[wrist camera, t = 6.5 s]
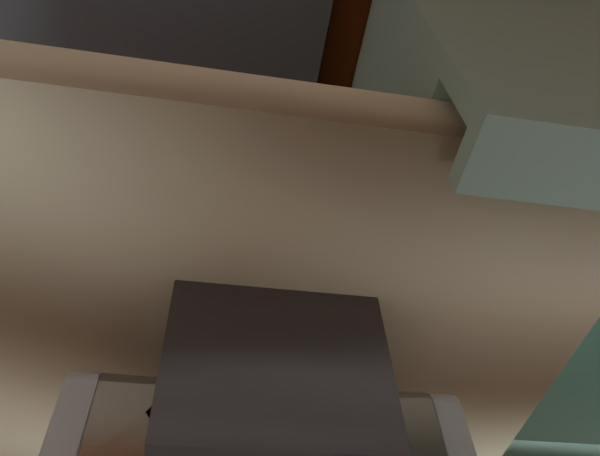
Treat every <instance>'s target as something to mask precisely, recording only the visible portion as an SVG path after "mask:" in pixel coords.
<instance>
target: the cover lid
mask: <svg viewBox="0 0 600 456" xmlns="http://www.w3.org/2000/svg"><path fill="white" fill-rule="evenodd" d="M466 129H467V126H466V124H465V123H464V121H463V119H462V117H461V115H460V114H459V112H458V110H457V108H456V107H455V105H454V103H453V102H450V101H443V100H436V99H428V98H421V97H414V96H407V95H399V94H392V93H385V92H378V91H371V90H363V89H356V88H349V87H342V86H335V85H327V84H320V83H313V82H306V81H299V80H291V79H284V78H277V77H270V76H263V75H255V74H248V73H241V72H234V71H226V70H219V69H212V68H205V67H198V66H190V65H183V64H176V63H169V62H162V61H154V60H147V59H140V58H133V57H126V56H118V55H111V54H104V53H97V52H90V51H82V50H75V49H68V48H61V47H53V46H46V45H39V44H32V43H25V42H17V41H10V40H3V39H0V456H38V455H39V452H40V449H41V447H42V444H43V441H44V438H45V435H46V432H47V429H48V426H49V423H50V420H51V417H52V414H53V411H54V408H55V405H56V402H57V399H58V396H59V393H60V390H61V387H62V384H63V381H64V379H65V377H66V376H67V374H68V373H69V371H70V370H72V371H88V372H102V373H112V374H125V375H137V376H149V377H157V380H156V385H155V391H154V396H153V402H152V407H151V413H150V418H149V424H148V429H147V435H146V440H145V456H412V455H411V450H410V445H409V441H408V436H407V431H406V427H405V422H404V417H403V413H402V408H401V403H400V399H399V394H398V391H407V392H425V393H426V394H451V395H455V396H456V397H457V398H458V399H459V401H460V403H461V406H462V409H463V412H464V415H465V419H466V422H467V425H468V428H469V431H470V434H471V437H472V441H473V444H474V447H475V450H476V453H477V456H502V455H503V454H504V452H505V451H506V450H507V448H508V447H509V445H510V444H511V442H512V441H513V440H514V438H515V437H516V435H517V434H518V432H519V431H520V430H521V428H522V427H523V425H524V424H525V422H526V421H527V420H528V418H529V417H530V415H531V414H532V412H533V411H534V410H535V408H536V407H537V405H538V404H539V402H540V401H541V400H542V398H543V397H544V395H545V394H546V392H547V391H548V390H549V388H550V387H551V385H552V384H553V382H554V381H555V380H556V378H557V377H558V375H559V374H560V372H561V371H562V370H563V368H564V367H565V365H566V364H567V362H568V361H569V360H570V358H571V357H572V355H573V354H574V352H575V351H576V350H577V348H578V347H579V345H580V344H581V342H582V341H583V340H584V338H585V337H586V335H587V334H588V332H589V331H590V330H591V328H592V327H593V325H594V324H595V323H596V321H597V320H598V318H599V317H600V211H597V210H589V209H580V208H572V207H563V206H555V205H547V204H538V203H530V202H521V201H513V200H504V199H496V198H488V197H479V196H471V195H462V194H455V193H454V190H453V188H452V186H451V184H450V182H449V179H448V175H449V172H450V170H451V167H452V165H453V162H454V160H455V157H456V154H457V152H458V149H459V147H460V144H461V142H462V139H463V137H464V134H465V131H466Z"/></svg>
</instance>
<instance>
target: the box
mask: <svg viewBox="0 0 600 456" xmlns="http://www.w3.org/2000/svg"><path fill="white" fill-rule="evenodd" d="M351 88H356V89H363V90H371V91H378V92H385V93H392V94H399V95H407V96H414V97H421V98H428V99H436V100H443V101H450V102H453V103H454V105H455V107H456V108H457V110H458V112H459V114H460V115H461V117H462V119H463V121H464V123H465V124H466V126H467V129H466V131H465V134H464V137H463V139H462V142H461V144H460V147H459V149H458V152H457V154H456V157H455V160H454V162H453V165H452V167H451V170H450V172H449V175H448V179H449V182H450V184H451V186H452V188H453V190H454V193H455V194H462V195H471V196H479V197H488V198H496V199H504V200H513V201H521V202H530V203H538V204H547V205H555V206H563V207H572V208H580V209H589V210H597V211H600V0H372V4H371V8H370V12H369V16H368V20H367V24H366V29H365V33H364V37H363V41H362V45H361V49H360V54H359V58H358V62H357V66H356V70H355V74H354V79H353V83H352V87H351ZM502 456H600V317H599V318H598V320H597V321H596V323H595V324H594V325H593V327H592V328H591V330H590V331H589V332H588V334H587V335H586V337H585V338H584V340H583V341H582V342H581V344H580V345H579V347H578V348H577V350H576V351H575V352H574V354H573V355H572V357H571V358H570V360H569V361H568V362H567V364H566V365H565V367H564V368H563V370H562V371H561V372H560V374H559V375H558V377H557V378H556V380H555V381H554V382H553V384H552V385H551V387H550V388H549V390H548V391H547V392H546V394H545V395H544V397H543V398H542V400H541V401H540V402H539V404H538V405H537V407H536V408H535V410H534V411H533V412H532V414H531V415H530V417H529V418H528V420H527V421H526V422H525V424H524V425H523V427H522V428H521V430H520V431H519V432H518V434H517V435H516V437H515V438H514V440H513V441H512V442H511V444H510V445H509V447H508V448H507V450H506V451H505V452H504V454H503V455H502Z"/></svg>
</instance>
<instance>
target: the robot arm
mask: <svg viewBox="0 0 600 456" xmlns="http://www.w3.org/2000/svg"><path fill="white" fill-rule="evenodd" d="M156 380H157V377H149V376H137V375H125V374H112V373H102V372H88V371H72V370H70V371H69V373H68V374H67V376H66V377H65V379H64V381H63V384H62V387H61V390H60V393H59V396H58V399H57V402H56V405H55V408H54V411H53V414H52V417H51V420H50V423H49V426H48V429H47V432H46V435H45V438H44V441H43V444H42V447H41V449H40V452H39V455H38V456H145V440H146V435H147V429H148V424H149V418H150V413H151V407H152V402H153V396H154V391H155V385H156ZM398 394H399V399H400V403H401V408H402V413H403V417H404V422H405V427H406V431H407V436H408V441H409V445H410V450H411V455H412V456H477V453H476V450H475V447H474V444H473V441H472V437H471V434H470V431H469V428H468V425H467V422H466V419H465V415H464V412H463V409H462V406H461V403H460V401H459V399H458V398H457V397H456V396H455V395H451V394H426V393H425V392H407V391H398Z"/></svg>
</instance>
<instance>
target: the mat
mask: <svg viewBox="0 0 600 456" xmlns="http://www.w3.org/2000/svg"><path fill="white" fill-rule="evenodd" d="M332 5H333V0H0V39H3V40H10V41H17V42H25V43H32V44H39V45H46V46H53V47H61V48H68V49H75V50H82V51H90V52H97V53H104V54H111V55H118V56H126V57H133V58H140V59H147V60H154V61H162V62H169V63H176V64H183V65H190V66H198V67H205V68H212V69H219V70H226V71H234V72H241V73H248V74H255V75H263V76H270V77H277V78H284V79H291V80H299V81H306V82H313V83H317V80H318V75H319V70H320V65H321V60H322V55H323V50H324V45H325V40H326V35H327V30H328V25H329V20H330V15H331V10H332Z"/></svg>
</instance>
